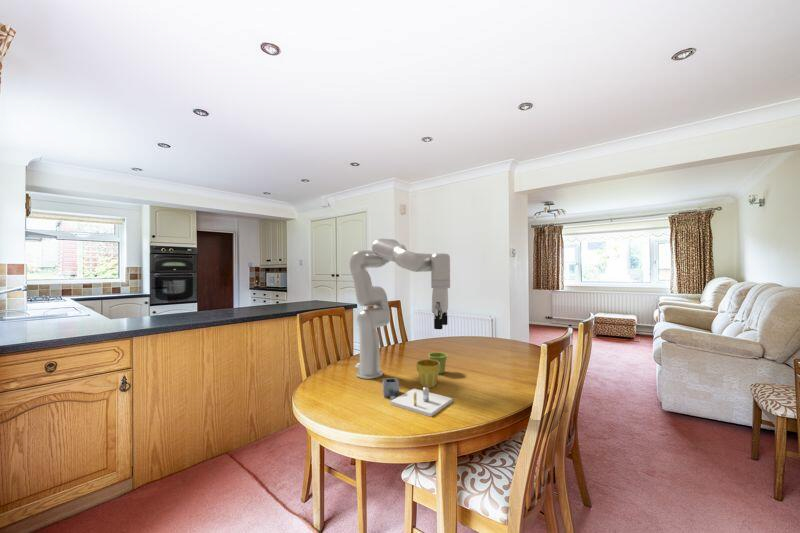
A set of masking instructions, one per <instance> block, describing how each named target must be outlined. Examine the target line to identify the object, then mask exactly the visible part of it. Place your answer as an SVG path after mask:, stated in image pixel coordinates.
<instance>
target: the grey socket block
mask: <svg viewBox="0 0 800 533" xmlns="http://www.w3.org/2000/svg"><path fill="white" fill-rule="evenodd" d="M382 394H383V398H389V400H390V401H391V400H393V399H395V398H397V397H399V396H400V381H399V380H398V378H397V377H389V378H388V377H386V378H382ZM390 401H389V402H390Z"/></svg>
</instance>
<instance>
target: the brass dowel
mask: <svg viewBox="0 0 800 533" xmlns="http://www.w3.org/2000/svg"><path fill="white" fill-rule="evenodd" d="M414 406H417V394H416V393H414Z"/></svg>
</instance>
